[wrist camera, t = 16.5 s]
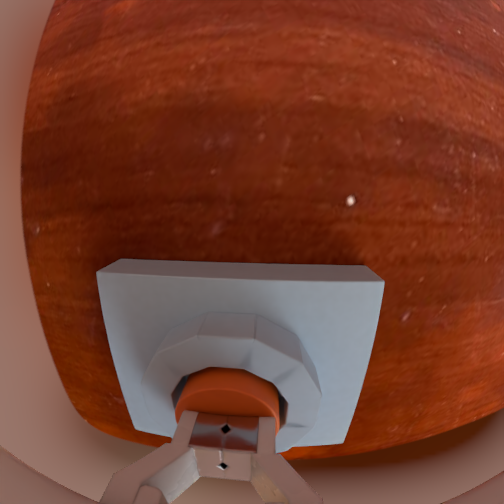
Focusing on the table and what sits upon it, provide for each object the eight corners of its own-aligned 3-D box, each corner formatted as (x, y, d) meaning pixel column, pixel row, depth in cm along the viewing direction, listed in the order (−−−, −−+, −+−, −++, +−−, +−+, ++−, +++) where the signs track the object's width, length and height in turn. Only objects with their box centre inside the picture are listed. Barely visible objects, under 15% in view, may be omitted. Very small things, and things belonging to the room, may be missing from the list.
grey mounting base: (147, 405, 14) (123, 452, 10) (120, 258, 12) (69, 286, 8) (336, 416, 13) (349, 468, 10) (366, 264, 11) (406, 299, 8)
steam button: (191, 419, 10) (182, 448, 9) (181, 353, 9) (166, 382, 8) (275, 425, 10) (276, 456, 8) (281, 359, 9) (283, 391, 8)
